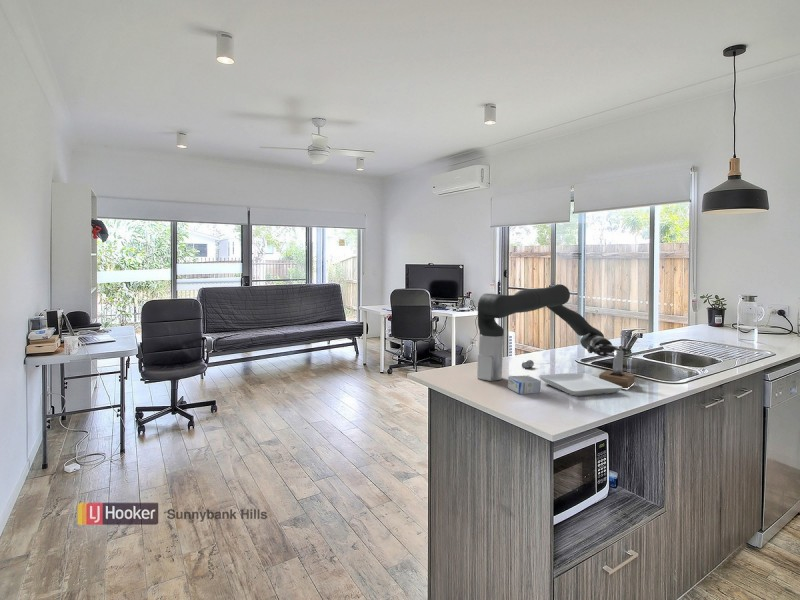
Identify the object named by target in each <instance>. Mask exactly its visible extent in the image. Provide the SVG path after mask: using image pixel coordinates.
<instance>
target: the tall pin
mask: <svg viewBox="0 0 800 600" xmlns="http://www.w3.org/2000/svg"><path fill="white" fill-rule="evenodd" d="M613 353H614V355H613V362H612V371H613V373H612V375H614V376H620V377H622V373H623V365H624V363H623V362H624V355H623V351H619V350H614V352H613Z"/></svg>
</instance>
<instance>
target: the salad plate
mask: <svg viewBox="0 0 800 600" xmlns="http://www.w3.org/2000/svg"><path fill="white" fill-rule="evenodd" d="M538 378H539V379H540V381H541V380H542V382H544V383H545V384H548V385H550V386H551V387H553V388H555V389H557V390H560V391H561V390H562V392H564V393H565V394H568V393H569V394H568V395H571V396H574V395H575V396H577V397H579V396H580V395H584V396H593V395H592V394H597V395H604V394H603V393H607V394H612V393H616V392H619V391H621V390H623V389H622V388H623V387H621V386H619V385H616V384H613V383H611V382H608V381H605V380H603V379H600V378H599V377H597V376H593V375H591V374H588V373H584V372H575V373H574V372H568V373H551V374H550V373H549V374H539V375H538ZM580 397H581V396H580Z"/></svg>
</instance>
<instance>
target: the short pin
mask: <svg viewBox="0 0 800 600" xmlns="http://www.w3.org/2000/svg"><path fill="white" fill-rule="evenodd" d="M534 365H535V363H534V361H533V360H531V359H528V360H525V361H523V362H522V363H521V368H522V369H524V368H525V369H524V370H527V369H532V368H533V367H534Z"/></svg>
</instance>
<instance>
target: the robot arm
mask: <svg viewBox="0 0 800 600" xmlns="http://www.w3.org/2000/svg"><path fill="white" fill-rule="evenodd" d="M570 297H571V293H570V289H569V288H568V287H567V286H566V285H565V284H562V283H561V284H559V283H558V284H554V285H550V286H547V287H543V288H541V287H540V288H537V287H536V288H528V289H527V288H526V289H521V290H518V291H517V292H515V293H514V294H511V295H510V294H509V295H507V294H505V295H504V294H499V293H482V295H481V296H480V297H479V299H478V302H477V328H478V330H479V335H478V336H479V337H478V338H479V340H478V355H477V376H476V377H477V378H476V379H478V378H479V379H478V380H483V381H487V382H488V381H489V382H493V381H501V380H502V379H503V361H504V360H503V356H504V335H505V334H504V328H503V327H502V326H501V325H500V324H498V323H497V322H496V319H503V318H506V317H508V316H511V315H514V314H518V313H519V314H520V313H521V314H522V313H526V312H527V313H528V312H534V311H536V310H540V309H543V308H545V307H546V308H548V310H550V311H551V312H552V313H553V314H555V315H556V316H557V317H559V318H560V319H561V320H563V321H564V322H565V323H566V324H568V326H570V328H571V329H572V330H573V331H574V332H575V334H576V335H578V336H580V337H581V338H580V345H581V346H582V347H583V348H584V349H585V350H587V353H589V354H594V355H597V356H600V357H607V356H609V355H613V356H614V350H619V351H623V356H626V355H627V348H625V347H624V346H622V345H620V346H616V345H613V344H612V342H611V341H610V340H609V339H607V338H605V336H604V333H603V332H602V331H601V330H599V329H597V328H596V327H594V326H592V325H590V323H589V322H588V321H587V320H586V319H585V317H583V315H581V314H580V313H579V312H576V311H575V310H572V309H571V308H568V307H566V306H564V305H565V304H566V303H568V302H569V300H570Z"/></svg>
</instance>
